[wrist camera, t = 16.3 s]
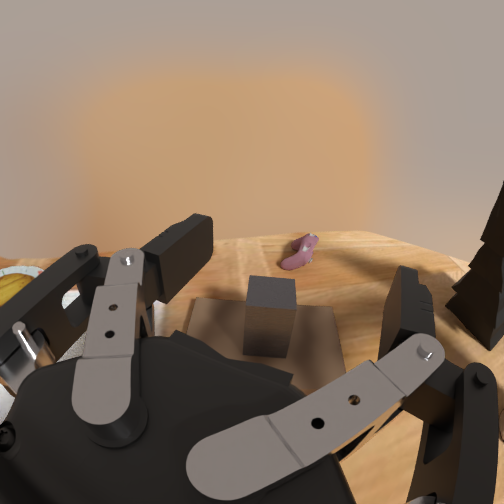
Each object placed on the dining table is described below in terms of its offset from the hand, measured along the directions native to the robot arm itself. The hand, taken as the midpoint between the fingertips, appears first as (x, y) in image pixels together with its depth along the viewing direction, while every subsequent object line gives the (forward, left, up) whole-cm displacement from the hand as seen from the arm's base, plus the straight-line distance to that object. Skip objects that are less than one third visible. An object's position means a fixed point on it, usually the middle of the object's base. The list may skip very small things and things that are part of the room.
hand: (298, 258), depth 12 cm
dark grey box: (-11, -15, -26) cm, 31 cm away
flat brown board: (-11, -15, -28) cm, 33 cm away
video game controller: (-31, -30, -28) cm, 52 cm away
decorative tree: (-46, +4, -28) cm, 54 cm away
